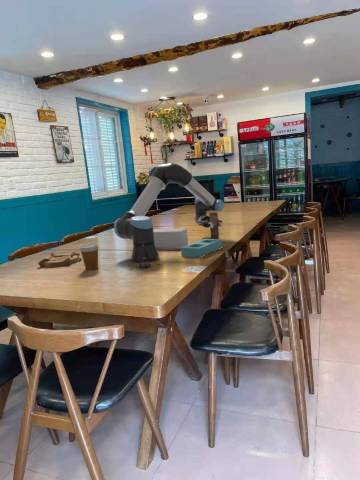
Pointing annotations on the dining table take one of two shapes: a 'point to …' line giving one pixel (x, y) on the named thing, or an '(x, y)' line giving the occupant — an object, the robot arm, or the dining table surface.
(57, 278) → the dining table surface
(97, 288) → the dining table surface
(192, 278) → the dining table surface
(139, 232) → the robot arm
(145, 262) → the eiffel tower figurine
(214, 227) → the walnut pin
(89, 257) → the disposable coffee cup
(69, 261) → the brown flat irregular piece
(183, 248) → the bore block
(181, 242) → the stack of papers
